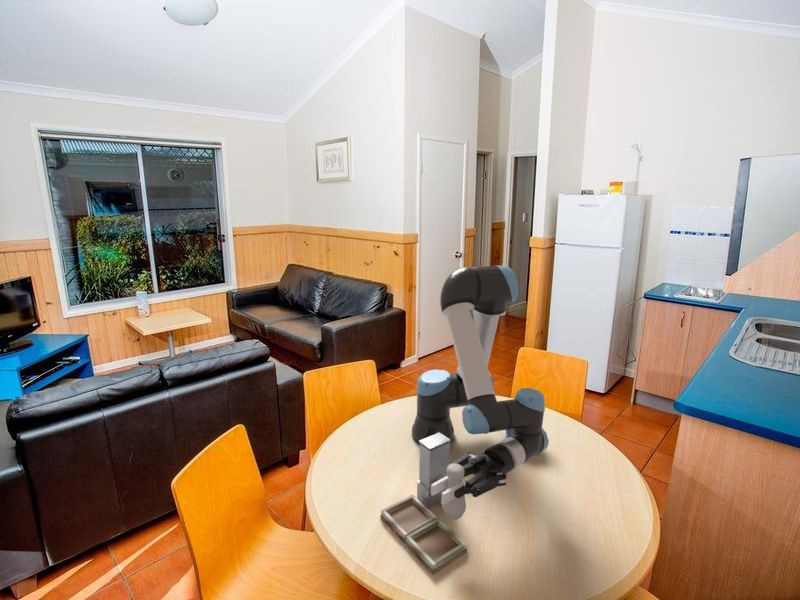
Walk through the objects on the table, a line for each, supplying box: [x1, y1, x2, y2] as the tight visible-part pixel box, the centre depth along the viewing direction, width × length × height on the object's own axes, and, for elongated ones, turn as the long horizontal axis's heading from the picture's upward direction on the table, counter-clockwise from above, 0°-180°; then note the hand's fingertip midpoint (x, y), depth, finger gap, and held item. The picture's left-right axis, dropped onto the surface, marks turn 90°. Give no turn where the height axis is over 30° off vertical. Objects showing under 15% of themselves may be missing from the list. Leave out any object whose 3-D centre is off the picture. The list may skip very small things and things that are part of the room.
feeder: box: [416, 432, 452, 510], centre depth 122 cm, size 8×8×19 cm
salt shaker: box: [441, 463, 467, 520], centre depth 105 cm, size 6×6×13 cm
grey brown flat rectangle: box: [380, 494, 469, 575], centre depth 113 cm, size 22×11×2 cm, turn 36°
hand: (437, 494), depth 101 cm, fingers closed on salt shaker, 3 cm apart
